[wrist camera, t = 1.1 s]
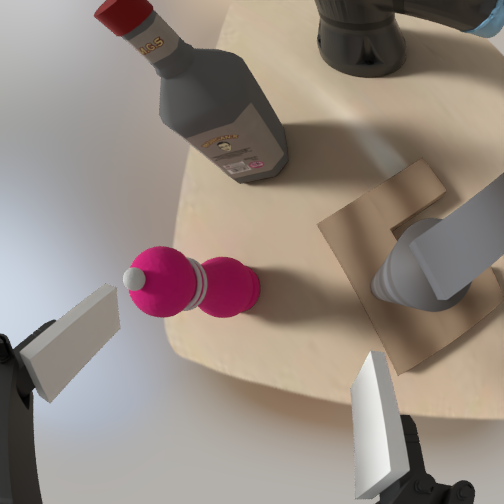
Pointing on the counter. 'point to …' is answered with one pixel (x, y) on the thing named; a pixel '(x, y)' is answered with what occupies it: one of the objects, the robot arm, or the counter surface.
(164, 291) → the pepper mill
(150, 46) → the liquor
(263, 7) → the counter surface
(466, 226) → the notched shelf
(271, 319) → the counter surface
